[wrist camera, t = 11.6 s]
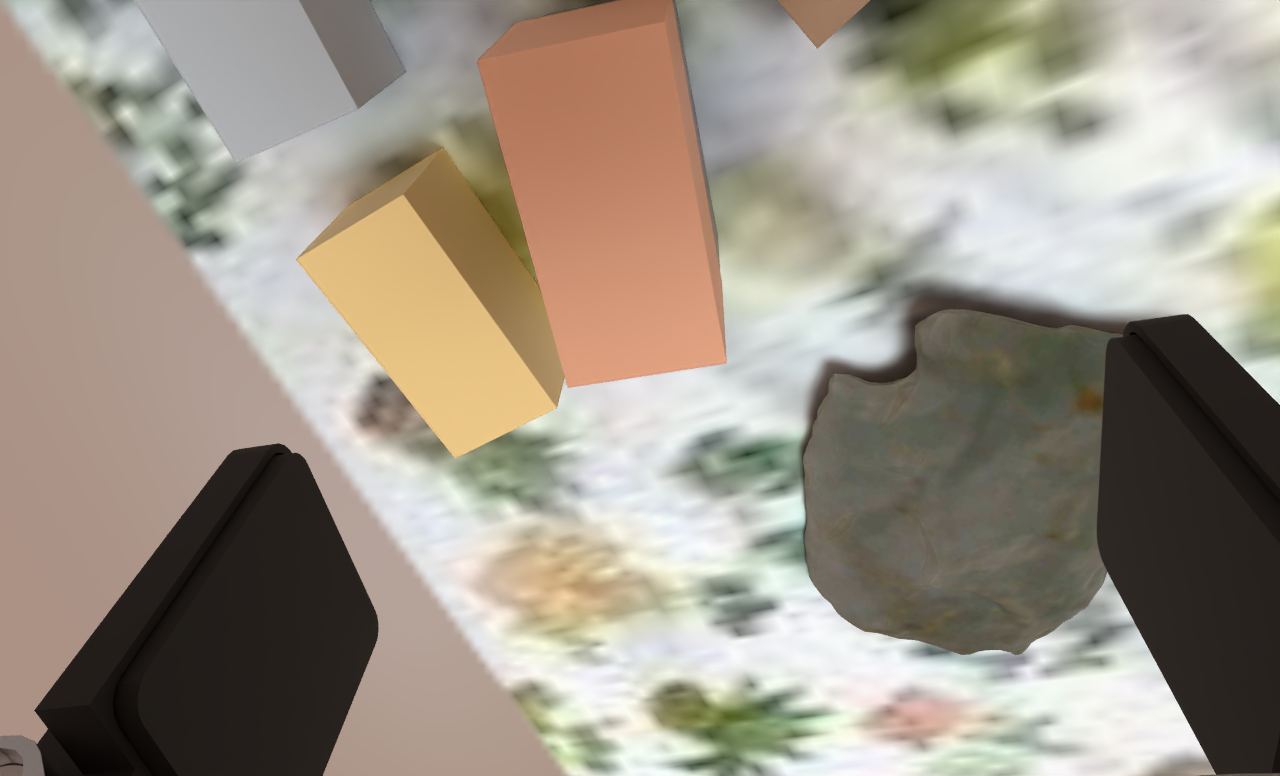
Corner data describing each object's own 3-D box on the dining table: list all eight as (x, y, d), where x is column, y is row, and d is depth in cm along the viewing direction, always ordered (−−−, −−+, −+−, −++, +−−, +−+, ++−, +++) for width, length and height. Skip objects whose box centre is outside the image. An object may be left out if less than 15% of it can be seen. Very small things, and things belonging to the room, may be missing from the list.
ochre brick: (349, 203, 32) (295, 259, 28) (443, 146, 31) (402, 194, 27) (484, 383, 35) (455, 458, 31) (574, 336, 34) (556, 407, 30)
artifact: (854, 252, 32) (754, 578, 40) (867, 299, 29) (755, 645, 37) (1241, 329, 33) (1068, 639, 40) (1299, 384, 29) (1099, 712, 37)
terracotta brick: (516, 22, 24) (476, 61, 20) (670, -11, 23) (664, 21, 19) (587, 304, 28) (567, 388, 24) (721, 281, 27) (726, 363, 23)
